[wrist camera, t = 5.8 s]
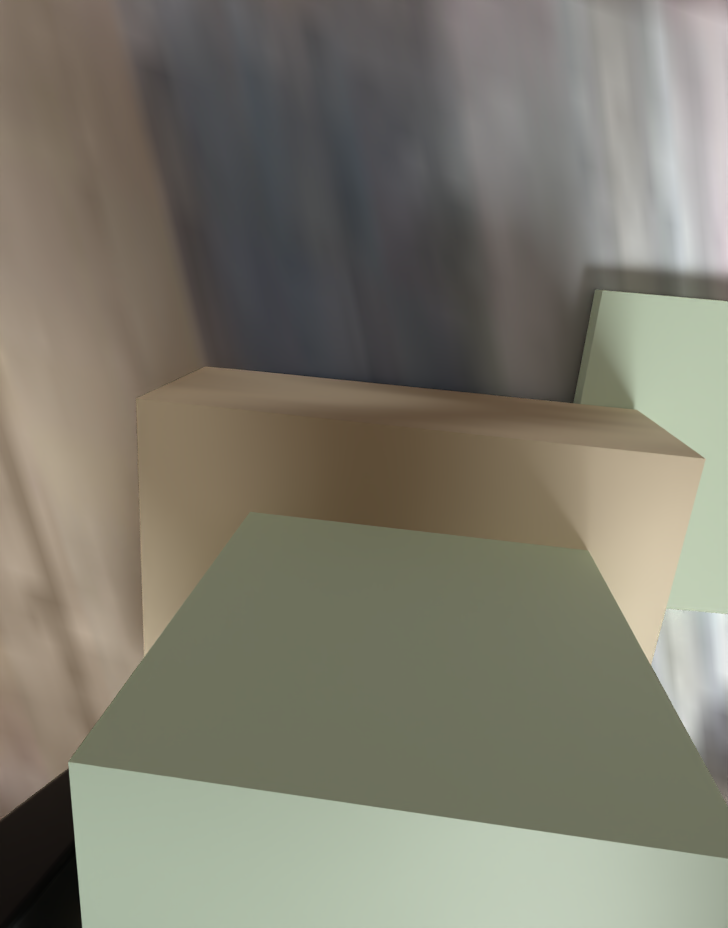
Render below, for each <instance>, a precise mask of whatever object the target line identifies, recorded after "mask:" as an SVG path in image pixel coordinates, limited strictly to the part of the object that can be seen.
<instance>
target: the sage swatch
mask: <svg viewBox="0 0 728 928" xmlns="http://www.w3.org/2000/svg"><path fill="white" fill-rule="evenodd" d="M574 403H575V404H585V405H595V406H605V407H615V408H625V409H635V410H638V411H640V412H641V413H642V414H644V415H645V416H647V417H648V418H649V419H651V420H652V421H654V422H655V423H656V424H658V425H659V426H661V427H662V428H663V429H665V430H666V431H668V432H669V433H670V434H672V435H673V436H675V437H676V438H677V439H679V440H680V441H682V442H683V443H684V444H686V445H687V446H689V447H690V448H691V449H693V450H694V451H696V452H697V453H698V454H700V455H701V456H703V457H704V458H705V459H706V460H705V463H704V467H703V471H702V475H701V479H700V482H699V486H698V490H697V494H696V497H695V501H694V505H693V509H692V512H691V516H690V520H689V524H688V528H687V531H686V535H685V539H684V543H683V546H682V550H681V554H680V558H679V561H678V565H677V569H676V573H675V577H674V580H673V584H672V588H671V592H670V595H669V599H668V603H667V607H666V609H677V610H688V611H699V612H710V613H721V614H728V301H722V300H711V299H699V298H688V297H677V296H665V295H654V294H643V293H631V292H620V291H609V290H597V289H595V293H594V298H593V304H592V309H591V314H590V319H589V324H588V330H587V335H586V340H585V345H584V350H583V356H582V361H581V366H580V371H579V377H578V382H577V387H576V392H575V397H574Z"/></svg>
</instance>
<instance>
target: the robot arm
mask: <svg viewBox="0 0 728 928" xmlns="http://www.w3.org/2000/svg"><path fill="white" fill-rule="evenodd" d="M0 928H82V919H81V907H80V895H79V883H78V872H77V860H76V848H75V836H74V824H73V812H72V801H71V789H70V777H69V768H68V769H67V770H65V771H64V772H63V773H61V774H60V775H59V776H57V777H56V778H55V779H54V780H52V781H51V782H50V783H48V784H47V785H46V786H44V787H43V788H42V789H40V790H39V791H38V792H36V793H35V794H34V795H32V796H31V797H30V798H29V799H27V800H26V801H25V802H23V803H22V804H21V805H19V806H18V807H17V808H15V809H14V810H13V811H11V812H10V813H9V814H8V815H6V816H5V817H4V818H2V819H1V820H0Z"/></svg>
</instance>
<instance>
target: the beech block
mask: <svg viewBox="0 0 728 928" xmlns="http://www.w3.org/2000/svg"><path fill="white" fill-rule="evenodd" d="M136 419H137V451H138V483H139V515H140V547H141V579H142V611H143V643H144V657H145V656H146V654H147V653H148V651H149V650H150V649H151V647H152V646H153V645H154V643H155V642H156V640H157V639H158V638H159V636H160V635H161V634H162V632H163V631H164V629H165V628H166V627H167V625H168V624H169V623H170V621H171V620H172V618H173V617H174V616H175V614H176V613H177V612H178V610H179V609H180V607H181V606H182V605H183V603H184V602H185V601H186V599H187V598H188V596H189V595H190V594H191V592H192V591H193V590H194V588H195V587H196V585H197V584H198V583H199V581H200V580H201V579H202V577H203V576H204V574H205V573H206V572H207V570H208V569H209V568H210V566H211V565H212V563H213V562H214V561H215V559H216V558H217V557H218V555H219V554H220V552H221V551H222V550H223V548H224V547H225V546H226V544H227V543H228V541H229V540H230V539H231V537H232V536H233V534H234V533H235V532H236V530H237V529H238V528H239V526H240V525H241V523H242V522H243V521H244V519H245V518H246V517H247V515H248V514H249V512H256V513H265V514H274V515H283V516H291V517H300V518H309V519H318V520H326V521H335V522H344V523H353V524H361V525H370V526H379V527H388V528H396V529H405V530H414V531H423V532H431V533H440V534H449V535H458V536H466V537H475V538H484V539H492V540H501V541H510V542H519V543H527V544H536V545H545V546H554V547H562V548H571V549H580V550H588V551H589V553H590V554H591V556H592V558H593V560H594V562H595V564H596V565H597V567H598V569H599V571H600V573H601V575H602V577H603V578H604V580H605V582H606V584H607V586H608V588H609V589H610V591H611V593H612V595H613V597H614V599H615V600H616V602H617V604H618V606H619V608H620V610H621V611H622V613H623V615H624V617H625V619H626V621H627V622H628V624H629V626H630V628H631V630H632V632H633V633H634V635H635V637H636V639H637V641H638V643H639V644H640V646H641V648H642V650H643V652H644V654H645V655H646V657H647V659H648V661H649V663H650V665H651V663H652V659H653V656H654V652H655V648H656V644H657V641H658V637H659V633H660V629H661V625H662V622H663V618H664V614H665V610H666V607H667V603H668V599H669V595H670V592H671V588H672V584H673V580H674V577H675V573H676V569H677V565H678V561H679V558H680V554H681V550H682V546H683V543H684V539H685V535H686V531H687V528H688V524H689V520H690V516H691V512H692V509H693V505H694V501H695V497H696V494H697V490H698V486H699V482H700V479H701V475H702V471H703V467H704V463H705V460H706V459H705V458H704V457H703V456H701V455H700V454H698V453H697V452H696V451H694V450H693V449H691V448H690V447H689V446H687V445H686V444H684V443H683V442H682V441H680V440H679V439H677V438H676V437H675V436H673V435H672V434H670V433H669V432H668V431H666V430H665V429H663V428H662V427H661V426H659V425H658V424H656V423H655V422H654V421H652V420H651V419H649V418H648V417H647V416H645V415H644V414H642V413H641V412H640V411H638V410H635V409H625V408H615V407H605V406H595V405H585V404H575V403H566V402H556V401H546V400H536V399H526V398H516V397H506V396H496V395H487V394H477V393H467V392H457V391H447V390H437V389H427V388H418V387H408V386H398V385H388V384H378V383H368V382H358V381H348V380H339V379H329V378H319V377H309V376H299V375H289V374H279V373H270V372H260V371H250V370H239V369H227V368H216V367H203V368H201V369H199V370H197V371H194V372H192V373H190V374H188V375H186V376H184V377H181V378H179V379H177V380H175V381H173V382H170V383H168V384H166V385H164V386H162V387H160V388H157V389H155V390H153V391H151V392H149V393H147V394H144V395H142V396H140V397H138V398H136Z"/></svg>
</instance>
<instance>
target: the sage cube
mask: <svg viewBox="0 0 728 928" xmlns="http://www.w3.org/2000/svg"><path fill="white" fill-rule="evenodd" d="M68 765H69V777H70V789H71V801H72V812H73V824H74V836H75V848H76V860H77V872H78V883H79V895H80V907H81V919H82V928H728V806H727V804H726V802H725V801H724V799H723V797H722V795H721V793H720V791H719V789H718V788H717V786H716V784H715V782H714V780H713V778H712V777H711V775H710V773H709V771H708V769H707V767H706V766H705V764H704V762H703V760H702V758H701V756H700V755H699V753H698V751H697V749H696V747H695V745H694V744H693V742H692V740H691V738H690V736H689V734H688V733H687V731H686V729H685V727H684V725H683V723H682V722H681V720H680V718H679V716H678V714H677V712H676V711H675V709H674V707H673V705H672V703H671V701H670V700H669V698H668V696H667V694H666V692H665V690H664V689H663V687H662V685H661V683H660V681H659V679H658V677H657V676H656V674H655V672H654V670H653V668H652V666H651V665H650V663H649V661H648V659H647V657H646V655H645V654H644V652H643V650H642V648H641V646H640V644H639V643H638V641H637V639H636V637H635V635H634V633H633V632H632V630H631V628H630V626H629V624H628V622H627V621H626V619H625V617H624V615H623V613H622V611H621V610H620V608H619V606H618V604H617V602H616V600H615V599H614V597H613V595H612V593H611V591H610V589H609V588H608V586H607V584H606V582H605V580H604V578H603V577H602V575H601V573H600V571H599V569H598V567H597V565H596V564H595V562H594V560H593V558H592V556H591V554H590V553H589V551H588V550H580V549H571V548H562V547H554V546H545V545H536V544H527V543H519V542H510V541H501V540H492V539H484V538H475V537H466V536H458V535H449V534H440V533H431V532H423V531H414V530H405V529H396V528H388V527H379V526H370V525H361V524H353V523H344V522H335V521H326V520H318V519H309V518H300V517H291V516H283V515H274V514H265V513H256V512H249V514H248V515H247V517H246V518H245V519H244V521H243V522H242V523H241V525H240V526H239V528H238V529H237V530H236V532H235V533H234V534H233V536H232V537H231V539H230V540H229V541H228V543H227V544H226V546H225V547H224V548H223V550H222V551H221V552H220V554H219V555H218V557H217V558H216V559H215V561H214V562H213V563H212V565H211V566H210V568H209V569H208V570H207V572H206V573H205V574H204V576H203V577H202V579H201V580H200V581H199V583H198V584H197V585H196V587H195V588H194V590H193V591H192V592H191V594H190V595H189V596H188V598H187V599H186V601H185V602H184V603H183V605H182V606H181V607H180V609H179V610H178V612H177V613H176V614H175V616H174V617H173V618H172V620H171V621H170V623H169V624H168V625H167V627H166V628H165V629H164V631H163V632H162V634H161V635H160V636H159V638H158V639H157V640H156V642H155V643H154V645H153V646H152V647H151V649H150V650H149V651H148V653H147V654H146V656H145V657H144V658H143V660H142V661H141V662H140V664H139V665H138V667H137V668H136V669H135V671H134V672H133V673H132V675H131V676H130V678H129V679H128V680H127V682H126V683H125V684H124V686H123V687H122V689H121V690H120V691H119V693H118V694H117V695H116V697H115V698H114V700H113V701H112V702H111V704H110V705H109V706H108V708H107V709H106V711H105V712H104V713H103V715H102V716H101V717H100V719H99V720H98V722H97V723H96V724H95V726H94V727H93V728H92V730H91V731H90V733H89V734H88V735H87V737H86V738H85V740H84V741H83V742H82V744H81V745H80V746H79V748H78V749H77V751H76V752H75V753H74V755H73V756H72V757H71V759H70V760H69V762H68Z"/></svg>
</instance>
